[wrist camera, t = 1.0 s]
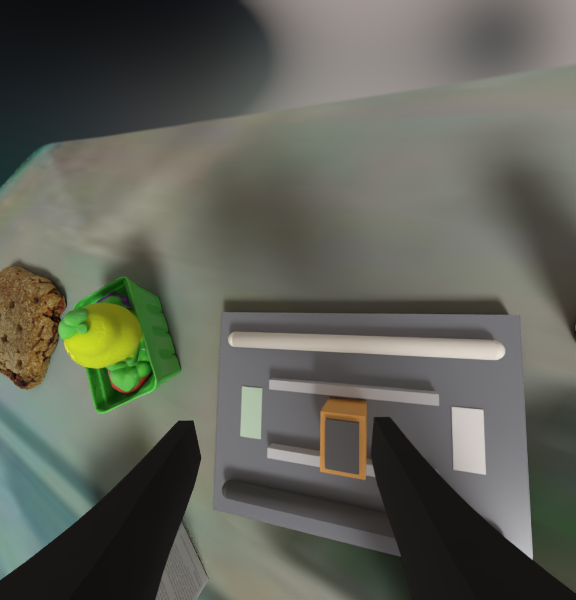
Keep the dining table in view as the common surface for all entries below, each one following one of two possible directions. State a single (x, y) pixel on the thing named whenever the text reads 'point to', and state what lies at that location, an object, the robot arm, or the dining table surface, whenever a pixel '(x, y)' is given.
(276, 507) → the dark grey rounded rod
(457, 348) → the white rounded rod
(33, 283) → the pastry
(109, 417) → the dining table surface
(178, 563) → the light bulb box
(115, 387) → the fruit basket
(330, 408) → the block
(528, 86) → the dining table surface
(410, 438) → the panel
